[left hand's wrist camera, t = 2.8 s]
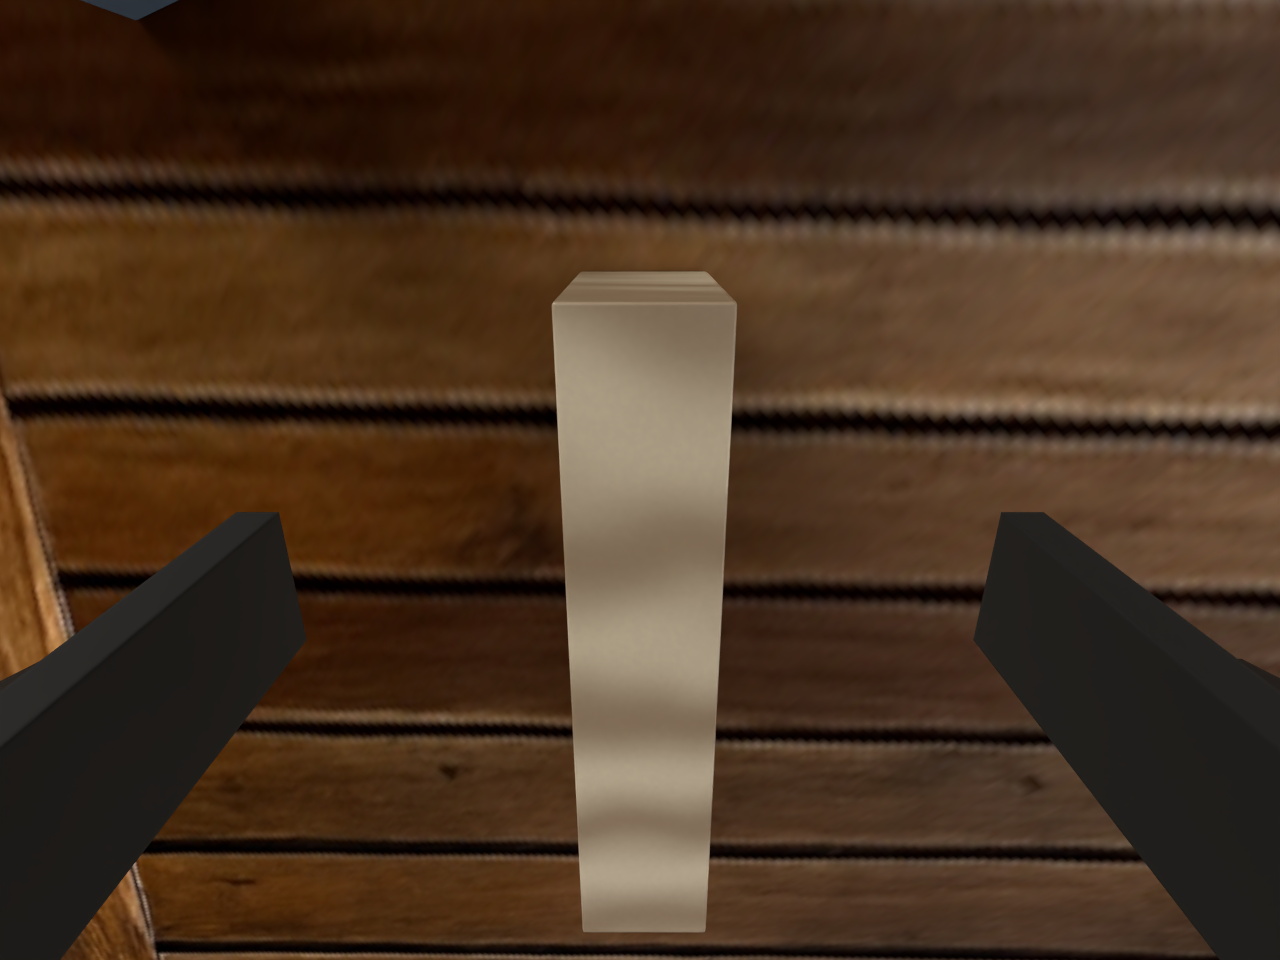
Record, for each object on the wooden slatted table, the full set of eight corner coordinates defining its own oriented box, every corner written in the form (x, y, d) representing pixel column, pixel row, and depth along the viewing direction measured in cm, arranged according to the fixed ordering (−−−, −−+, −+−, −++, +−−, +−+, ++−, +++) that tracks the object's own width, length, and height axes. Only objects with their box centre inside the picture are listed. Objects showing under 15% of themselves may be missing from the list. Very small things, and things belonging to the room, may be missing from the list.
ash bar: (579, 271, 26) (551, 302, 18) (707, 271, 26) (737, 302, 18) (596, 764, 36) (582, 933, 28) (690, 763, 36) (705, 933, 28)
